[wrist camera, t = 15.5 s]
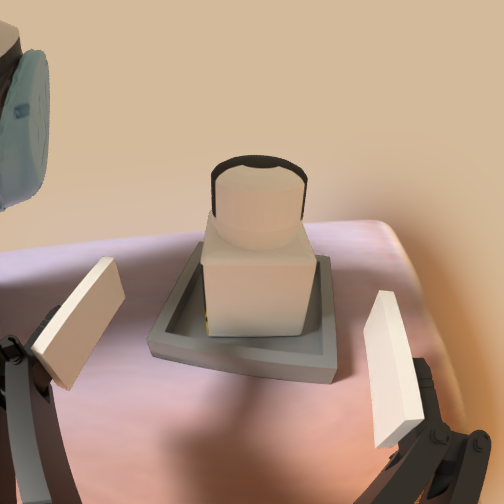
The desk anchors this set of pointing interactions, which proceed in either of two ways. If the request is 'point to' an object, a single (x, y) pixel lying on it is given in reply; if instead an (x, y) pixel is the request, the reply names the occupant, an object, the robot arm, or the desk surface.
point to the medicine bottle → (256, 249)
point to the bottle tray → (248, 348)
